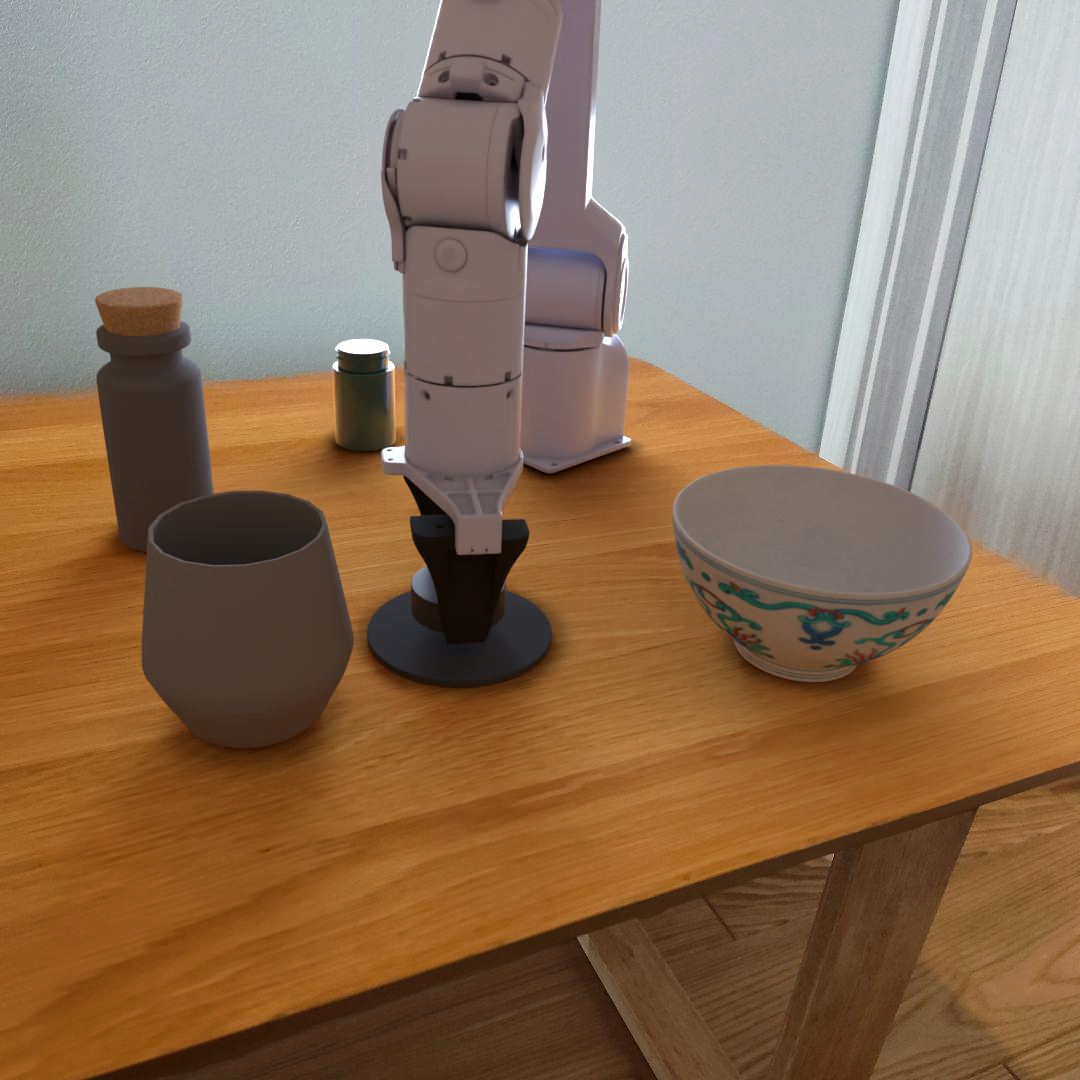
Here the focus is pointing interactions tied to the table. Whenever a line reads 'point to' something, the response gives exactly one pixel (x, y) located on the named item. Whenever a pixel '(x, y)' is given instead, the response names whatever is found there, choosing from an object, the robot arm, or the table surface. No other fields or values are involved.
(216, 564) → the cup
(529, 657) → the coaster
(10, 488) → the table surface
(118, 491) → the bottle
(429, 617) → the cap
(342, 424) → the spice jar
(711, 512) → the chinaware
